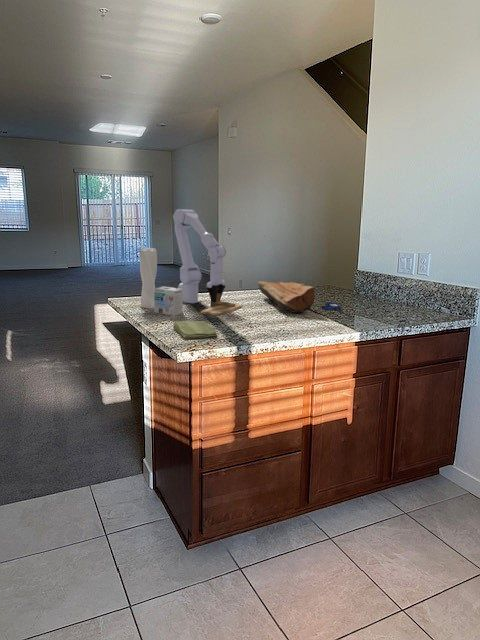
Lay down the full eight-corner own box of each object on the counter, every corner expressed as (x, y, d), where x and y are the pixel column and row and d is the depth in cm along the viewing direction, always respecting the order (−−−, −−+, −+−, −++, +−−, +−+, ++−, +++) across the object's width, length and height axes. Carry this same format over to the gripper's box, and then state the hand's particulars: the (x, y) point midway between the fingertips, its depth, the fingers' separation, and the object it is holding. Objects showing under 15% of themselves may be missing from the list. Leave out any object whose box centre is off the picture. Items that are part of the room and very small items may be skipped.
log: (314, 314, 207) (317, 280, 207) (275, 311, 204) (279, 276, 203) (287, 310, 249) (289, 282, 248) (255, 307, 246) (257, 279, 245)
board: (200, 313, 203) (200, 310, 203) (224, 305, 224) (224, 302, 223) (218, 315, 200) (219, 313, 199) (241, 307, 220) (241, 305, 220)
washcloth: (183, 341, 160) (183, 332, 159) (171, 329, 176) (171, 320, 175) (219, 339, 164) (220, 330, 164) (205, 327, 180) (205, 319, 180)
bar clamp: (316, 301, 230) (335, 301, 232) (316, 306, 231) (334, 306, 233) (346, 318, 200) (367, 318, 202) (346, 324, 200) (367, 323, 203)
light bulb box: (153, 312, 201) (153, 287, 198) (163, 310, 207) (163, 286, 204) (174, 316, 196) (174, 290, 194) (183, 313, 202) (183, 288, 200)
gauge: (210, 306, 218) (211, 292, 217) (214, 305, 222) (215, 291, 220) (232, 309, 214) (233, 295, 212) (236, 308, 217) (237, 294, 216)
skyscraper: (136, 307, 210) (135, 244, 204) (144, 304, 217) (144, 243, 211) (152, 308, 208) (152, 245, 202) (159, 306, 215) (159, 244, 209)
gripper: (216, 274, 208) (215, 304, 211) (231, 271, 221) (230, 299, 224) (202, 273, 211) (202, 302, 214) (218, 270, 224) (217, 298, 227)
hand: (215, 301), depth 219 cm, fingers closed on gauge, 4 cm apart
